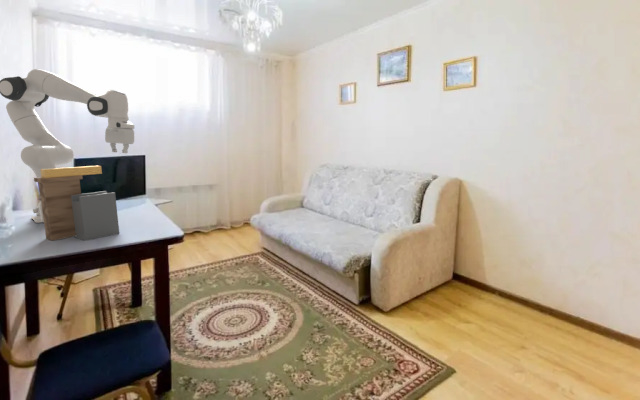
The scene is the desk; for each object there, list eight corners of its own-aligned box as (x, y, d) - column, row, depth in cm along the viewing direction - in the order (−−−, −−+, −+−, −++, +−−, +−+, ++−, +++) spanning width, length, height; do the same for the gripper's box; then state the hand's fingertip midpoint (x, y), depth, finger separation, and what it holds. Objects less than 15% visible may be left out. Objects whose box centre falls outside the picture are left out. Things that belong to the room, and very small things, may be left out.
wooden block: (45, 178, 143) (43, 169, 142) (41, 177, 145) (40, 169, 144) (102, 173, 161) (101, 165, 160) (98, 173, 163) (97, 165, 162)
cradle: (76, 237, 150) (70, 195, 147) (110, 230, 162) (105, 190, 159) (85, 240, 146) (79, 197, 143) (119, 233, 158) (115, 192, 154)
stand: (42, 238, 149) (33, 177, 144) (81, 231, 161) (74, 174, 156) (49, 241, 145) (41, 179, 140) (89, 233, 157) (82, 175, 153)
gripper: (100, 123, 176) (102, 151, 178) (123, 124, 165) (124, 153, 167) (113, 124, 181) (114, 151, 183) (136, 125, 170) (137, 153, 172)
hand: (119, 152), depth 175 cm, fingers open, 8 cm apart
